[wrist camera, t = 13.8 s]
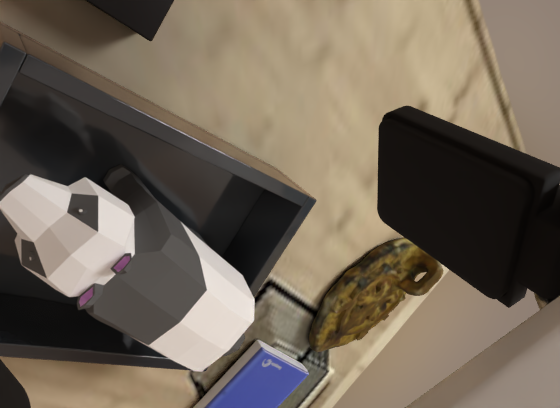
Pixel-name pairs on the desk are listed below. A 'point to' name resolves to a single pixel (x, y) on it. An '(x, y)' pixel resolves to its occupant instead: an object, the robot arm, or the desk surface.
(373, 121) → the desk surface
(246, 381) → the hard drive
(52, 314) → the dark grey shallow box
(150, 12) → the black knob plate
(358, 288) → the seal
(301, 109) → the desk surface
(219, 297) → the giant panda
